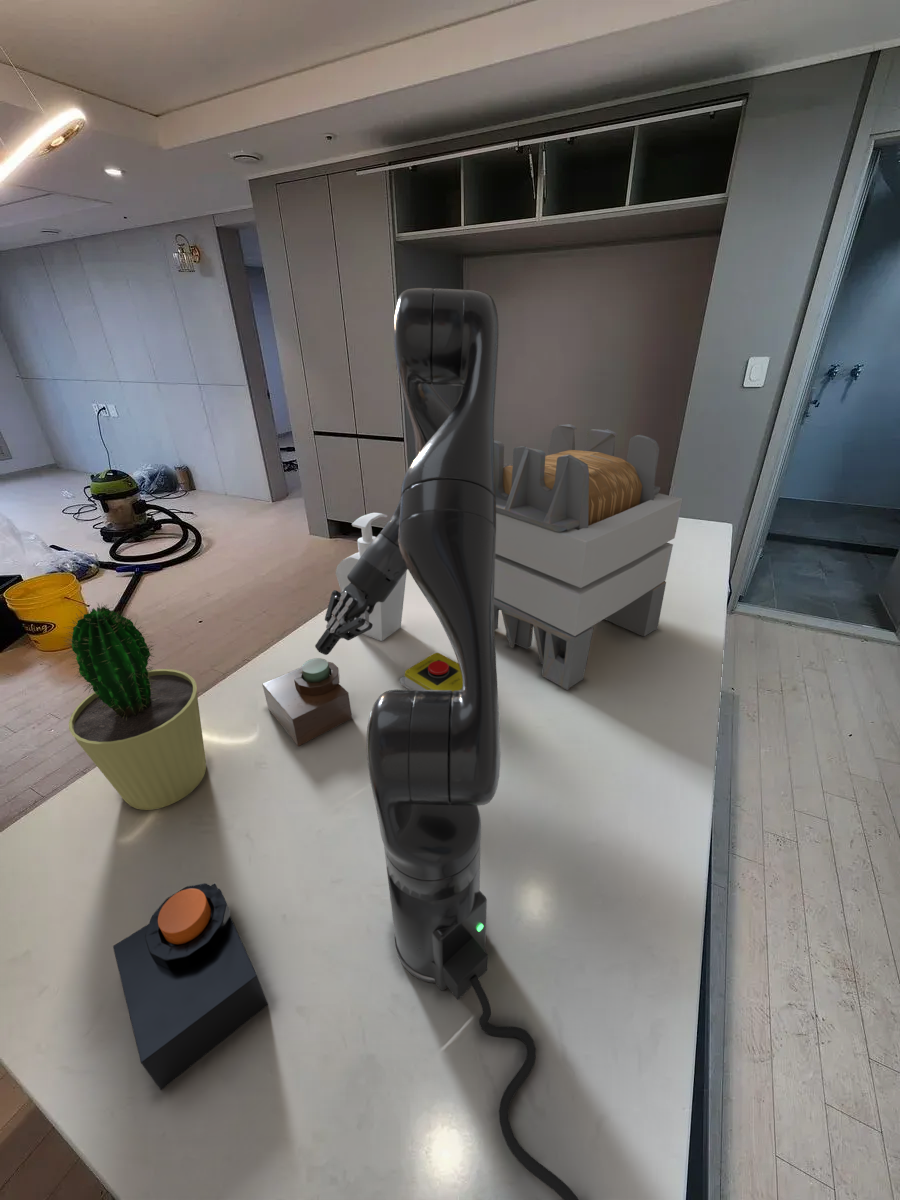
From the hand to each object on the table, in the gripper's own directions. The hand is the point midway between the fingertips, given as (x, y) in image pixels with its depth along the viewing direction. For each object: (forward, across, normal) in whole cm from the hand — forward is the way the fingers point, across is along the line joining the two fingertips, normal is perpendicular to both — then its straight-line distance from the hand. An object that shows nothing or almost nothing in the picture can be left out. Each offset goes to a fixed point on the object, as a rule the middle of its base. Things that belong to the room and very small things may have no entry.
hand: (320, 651), depth 85 cm
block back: (+11, 0, +6) cm, 12 cm away
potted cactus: (+27, +3, -11) cm, 29 cm away
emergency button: (-5, +7, +22) cm, 24 cm away
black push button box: (+27, +35, -11) cm, 46 cm away
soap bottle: (-5, -19, +22) cm, 29 cm away
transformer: (-28, +2, +44) cm, 52 cm away
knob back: (+4, 0, +2) cm, 5 cm away
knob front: (+22, +32, -15) cm, 42 cm away
